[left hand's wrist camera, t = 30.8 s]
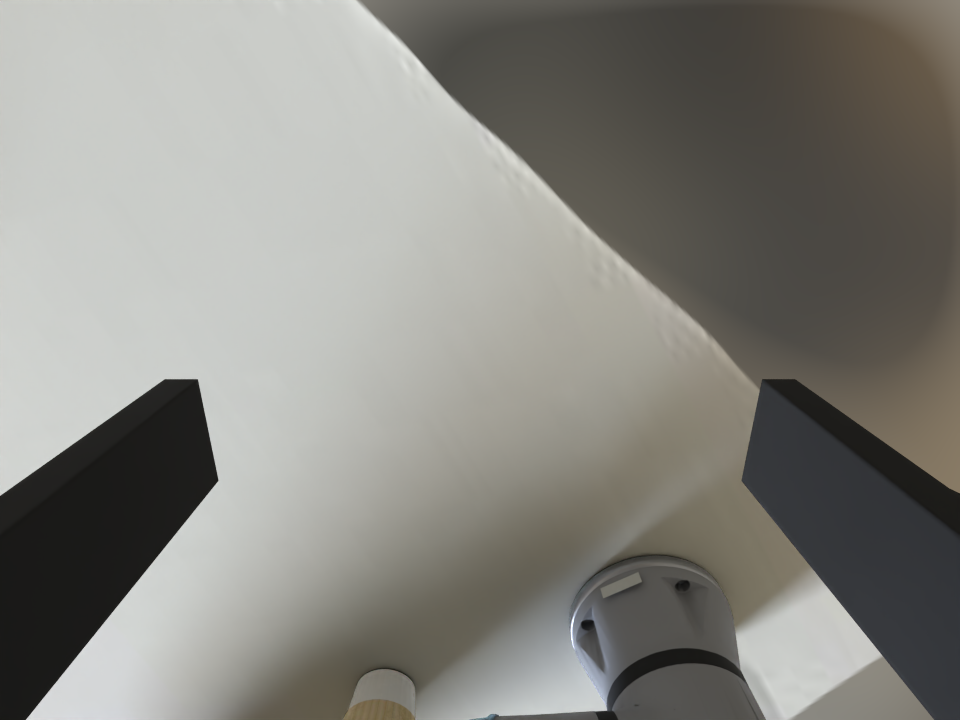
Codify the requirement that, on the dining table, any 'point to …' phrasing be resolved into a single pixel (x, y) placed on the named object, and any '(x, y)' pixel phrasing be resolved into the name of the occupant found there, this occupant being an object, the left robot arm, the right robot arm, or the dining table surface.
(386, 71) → the dining table surface
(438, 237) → the dining table surface
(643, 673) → the left robot arm
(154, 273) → the dining table surface
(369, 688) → the coffee cup
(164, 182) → the dining table surface
